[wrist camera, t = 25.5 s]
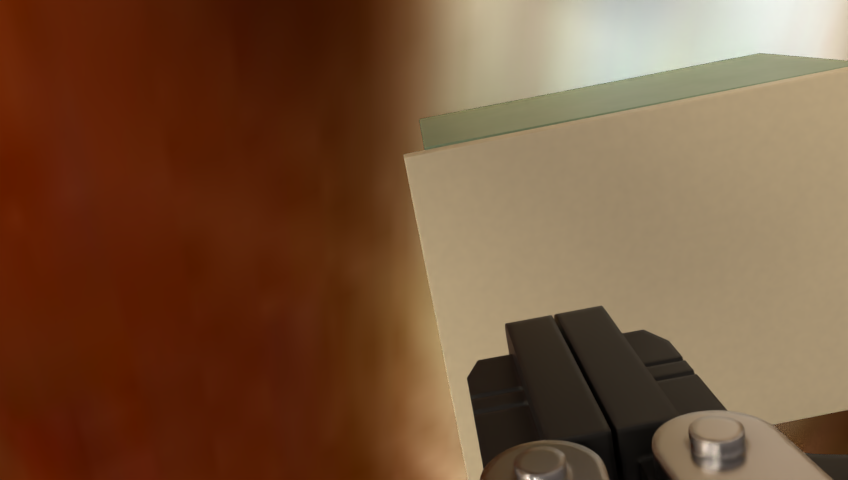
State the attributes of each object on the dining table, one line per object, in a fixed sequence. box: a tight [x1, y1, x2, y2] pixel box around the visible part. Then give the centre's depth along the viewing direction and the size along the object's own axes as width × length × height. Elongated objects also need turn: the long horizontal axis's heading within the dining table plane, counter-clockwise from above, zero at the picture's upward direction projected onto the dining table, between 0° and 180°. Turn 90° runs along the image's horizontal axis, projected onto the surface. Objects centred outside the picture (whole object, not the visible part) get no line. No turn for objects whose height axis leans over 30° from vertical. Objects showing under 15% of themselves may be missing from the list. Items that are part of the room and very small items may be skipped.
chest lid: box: [404, 67, 848, 480], centre depth 30 cm, size 18×14×1 cm
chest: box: [419, 53, 848, 150], centre depth 35 cm, size 17×14×9 cm
